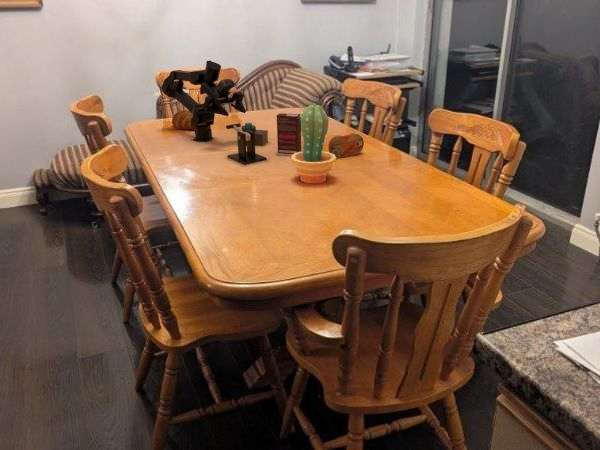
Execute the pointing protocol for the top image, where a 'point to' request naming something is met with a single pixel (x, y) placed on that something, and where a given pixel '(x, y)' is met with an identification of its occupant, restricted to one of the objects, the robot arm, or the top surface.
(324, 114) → the potted cactus
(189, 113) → the pastry
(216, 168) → the top surface
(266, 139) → the control block
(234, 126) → the lever
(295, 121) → the supplement box
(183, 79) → the robot arm
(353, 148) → the tin
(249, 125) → the button
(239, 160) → the bracket
